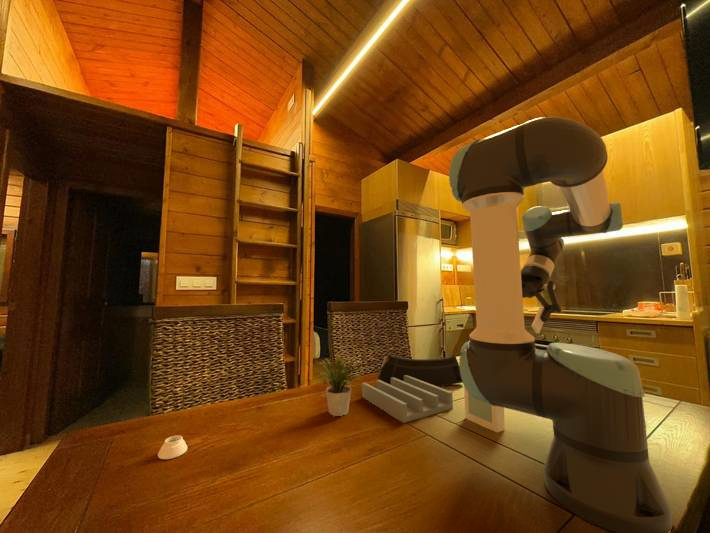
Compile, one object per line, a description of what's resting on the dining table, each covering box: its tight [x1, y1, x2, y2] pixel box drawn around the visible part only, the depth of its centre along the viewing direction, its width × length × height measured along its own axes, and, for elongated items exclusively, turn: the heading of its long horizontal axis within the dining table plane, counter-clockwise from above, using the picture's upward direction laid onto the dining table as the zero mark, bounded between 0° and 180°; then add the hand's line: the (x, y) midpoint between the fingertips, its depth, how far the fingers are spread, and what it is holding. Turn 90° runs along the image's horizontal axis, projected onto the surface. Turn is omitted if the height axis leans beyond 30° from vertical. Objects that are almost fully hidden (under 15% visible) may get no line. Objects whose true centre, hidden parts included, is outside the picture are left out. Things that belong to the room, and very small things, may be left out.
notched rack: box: [361, 375, 454, 424], centre depth 85 cm, size 18×20×4 cm
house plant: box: [318, 350, 366, 417], centre depth 77 cm, size 14×14×16 cm
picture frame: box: [463, 385, 506, 433], centre depth 72 cm, size 3×9×12 cm, turn 30°
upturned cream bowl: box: [157, 434, 188, 460], centre depth 58 cm, size 5×3×5 cm
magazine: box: [377, 353, 463, 387], centre depth 101 cm, size 17×3×30 cm
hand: (508, 327), depth 77 cm, fingers open, 13 cm apart
